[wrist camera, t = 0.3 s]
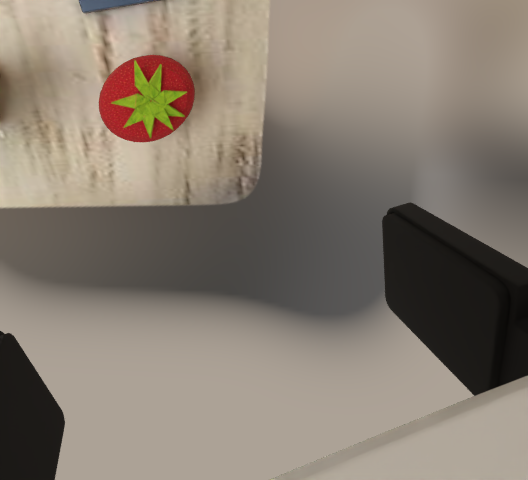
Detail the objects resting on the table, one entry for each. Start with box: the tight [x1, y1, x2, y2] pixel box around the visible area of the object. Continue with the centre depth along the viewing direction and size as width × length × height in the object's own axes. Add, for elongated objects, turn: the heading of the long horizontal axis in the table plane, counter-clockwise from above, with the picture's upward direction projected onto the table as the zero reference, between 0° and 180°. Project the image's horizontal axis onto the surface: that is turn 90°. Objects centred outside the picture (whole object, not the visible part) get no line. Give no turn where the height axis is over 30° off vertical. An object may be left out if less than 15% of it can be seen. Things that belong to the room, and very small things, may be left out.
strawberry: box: [99, 55, 195, 142], centre depth 31 cm, size 6×8×10 cm
